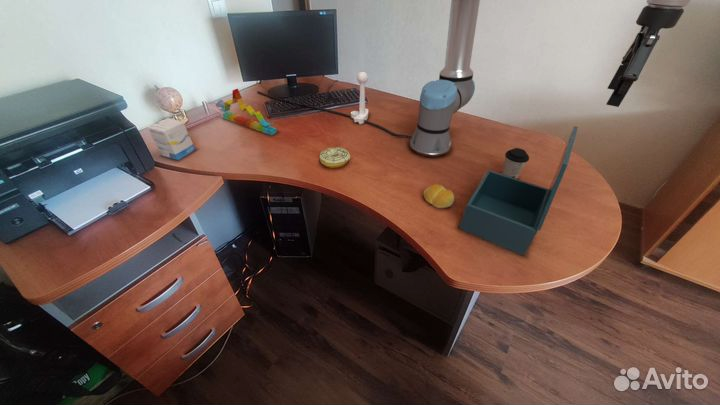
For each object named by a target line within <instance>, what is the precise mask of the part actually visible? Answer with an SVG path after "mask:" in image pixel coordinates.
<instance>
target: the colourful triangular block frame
mask: <svg viewBox="0 0 720 405" xmlns="http://www.w3.org/2000/svg"><path fill="white" fill-rule="evenodd" d="M237 103H238V106H239V108H240V110H241V112H242V113H243V112H245V111H246V112H247V113H248V114H249V115H250V117H252V116H254V115H255V117H256V119H257V120H258V121H256V120H253V119H250V118H247V117H244V116H241V115H238V114H235V113H234V112H233V113H232V112H230V110H231V105H234V104H237ZM220 111H222V112H223V113H222V118H223V119H224V120H227V121H230V122H233V123H236V124H239V125H240V126H241V125H242V126H243V127H244V126H245V127H247V128H250V129H253V130H256V131H258V132H261V133H264V134H266V135H269V136H273V135H275V134H277V133H278V131H277V128H276V127H274V126H271V125H273V124H275V122H274V121H273V122H271V123H270V122H268V121H267V120H266V119H265V117H264V116H263V114H262V113H261V111H260V110H258V111H255V110H254V108H253V107H252V106H251V105H250V104H249V105H247V106H246V104H245V101H244V98H243V97H242V94H241V93H240V90H239V88H235V89H233V90H232V100H231V99H229V100H226V101H224V107H222V108H220Z"/></svg>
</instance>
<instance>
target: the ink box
mask: <svg viewBox="0 0 720 405" xmlns="http://www.w3.org/2000/svg"><path fill="white" fill-rule="evenodd" d="M147 129H148V131H149V133H150V135H151V137H152V139H153V141H154V143H155V144H156V146H157V149H158V150H159V152H160V154H161V156H163V157H166V158H169V159H172V160H175V161H180V160H182V158H183V159H184V158H185V157H186V156H188V155H189V154H191V153H193V152H194V151H196V147H195V145H194V143H193V141H192V139H191V136H190V134H189V131H188V129H187V127H186V125H185V122H184V121H181V120H178V119H174V118H171V117H167V118H164V119H162V120H160V121H157V122H154V123H153V124H151V125H150V126H147Z"/></svg>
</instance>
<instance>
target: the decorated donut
mask: <svg viewBox="0 0 720 405" xmlns="http://www.w3.org/2000/svg"><path fill="white" fill-rule="evenodd" d="M350 160H351V154H350V152H349V151H348V149H345V148H343V147H342V146H341V147H340V146H334V147H328V148H325V149H324V150H322V151H321V152H320V153H319V162H320V163H321V164H322V165H323V166H324V167H327V168H329V169H339V168H342V167H344V166H345V165H346V164H347V163H348V162H349V161H350Z"/></svg>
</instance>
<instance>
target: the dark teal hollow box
mask: <svg viewBox="0 0 720 405" xmlns="http://www.w3.org/2000/svg"><path fill="white" fill-rule="evenodd" d="M548 192H549V188H547V187H545V186H540V185H538V184H534V183H531V182H527V181H525V180H522V179H520V178H519V179H518V178H517V179H515V178H512V177H509V176H506V175H503V174H502V173H500V172H497V171H493V170H491V169H487V171H486V172H485V174H484V176H483V177H482V179H481V181H480V182H479V184H478V186H477V187H476V189H475V190H474V192H473V194H472V195H471V197H470V199H469V200H468V202H467V203H466V205H465V210H464V212H463V215H462V218H461V222H460V225H459V227H458V229H459V230H461V231H463V232H466V233H467V234H471V235H473V236H475V237H478V238H480V239H482V240H485V241H487V242H490V243H492V244H495V245H497V246H500V247H501V248H504V249H506V250H509V251H511V252H514V253H516V254H518V255H521V256H525V254H526V253H527V251H528V249H529V247H530V245H531V244H532V242H533V240H534V239H535V237H536V235H537V233H538V231H539V230H536V229H537V226H538V223H539V219H540V216H541V213H542V210H543V207H544V204H545V201H546V198H547V195H548Z"/></svg>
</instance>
